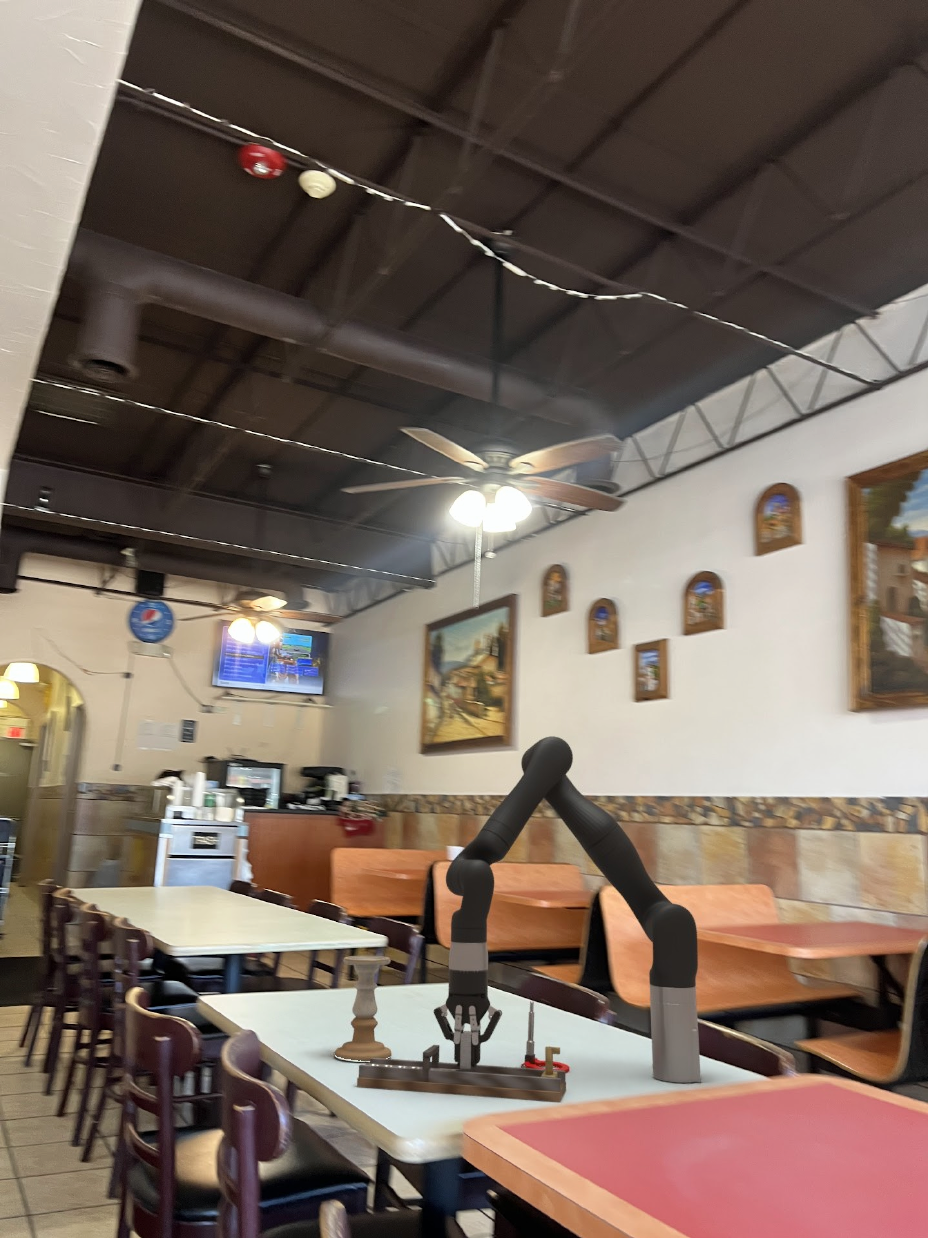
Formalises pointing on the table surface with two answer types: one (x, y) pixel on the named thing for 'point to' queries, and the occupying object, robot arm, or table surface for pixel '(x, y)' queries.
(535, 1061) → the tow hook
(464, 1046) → the grey l-shaped slider bar
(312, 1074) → the table surface
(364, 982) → the candle holder
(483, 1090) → the track
